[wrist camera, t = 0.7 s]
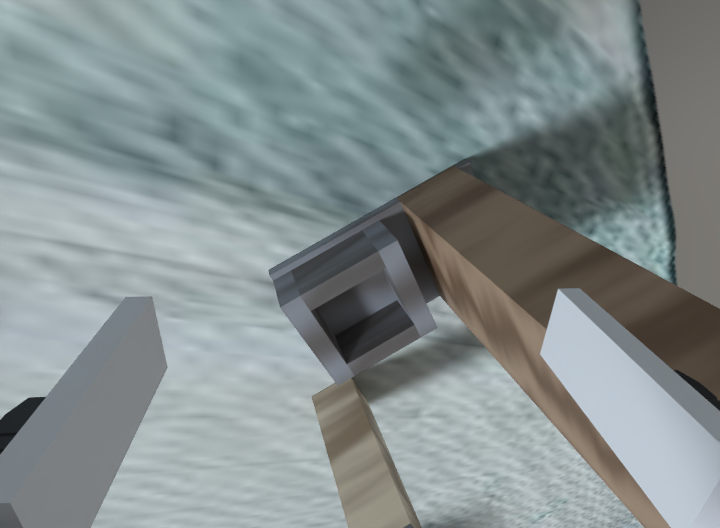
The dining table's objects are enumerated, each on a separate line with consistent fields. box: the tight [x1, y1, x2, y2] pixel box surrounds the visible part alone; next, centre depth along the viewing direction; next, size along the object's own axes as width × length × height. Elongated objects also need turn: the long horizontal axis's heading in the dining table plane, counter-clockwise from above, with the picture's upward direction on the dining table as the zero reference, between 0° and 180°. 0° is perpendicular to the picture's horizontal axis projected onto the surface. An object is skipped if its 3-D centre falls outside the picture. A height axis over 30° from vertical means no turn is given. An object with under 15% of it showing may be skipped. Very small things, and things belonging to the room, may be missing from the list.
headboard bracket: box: [268, 159, 720, 528], centre depth 22 cm, size 10×17×28 cm, turn 115°
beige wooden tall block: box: [312, 378, 422, 528], centre depth 33 cm, size 4×4×15 cm
